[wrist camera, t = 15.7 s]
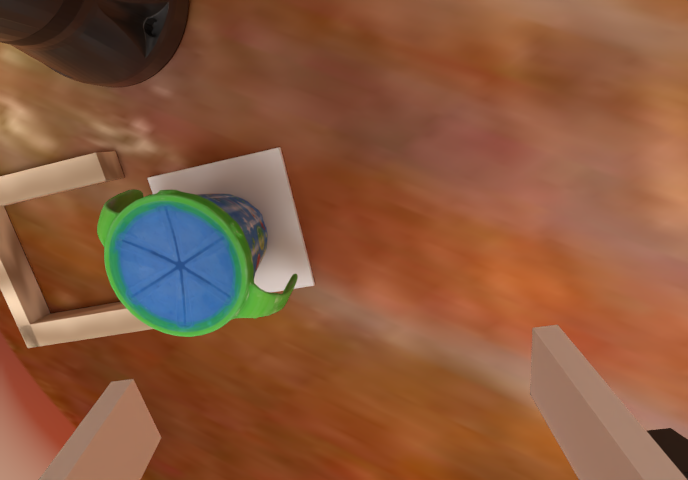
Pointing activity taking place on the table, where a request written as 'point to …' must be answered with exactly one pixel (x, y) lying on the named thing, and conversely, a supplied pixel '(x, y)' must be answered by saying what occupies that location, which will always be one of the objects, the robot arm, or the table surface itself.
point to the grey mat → (265, 195)
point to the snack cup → (186, 259)
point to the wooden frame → (15, 272)
